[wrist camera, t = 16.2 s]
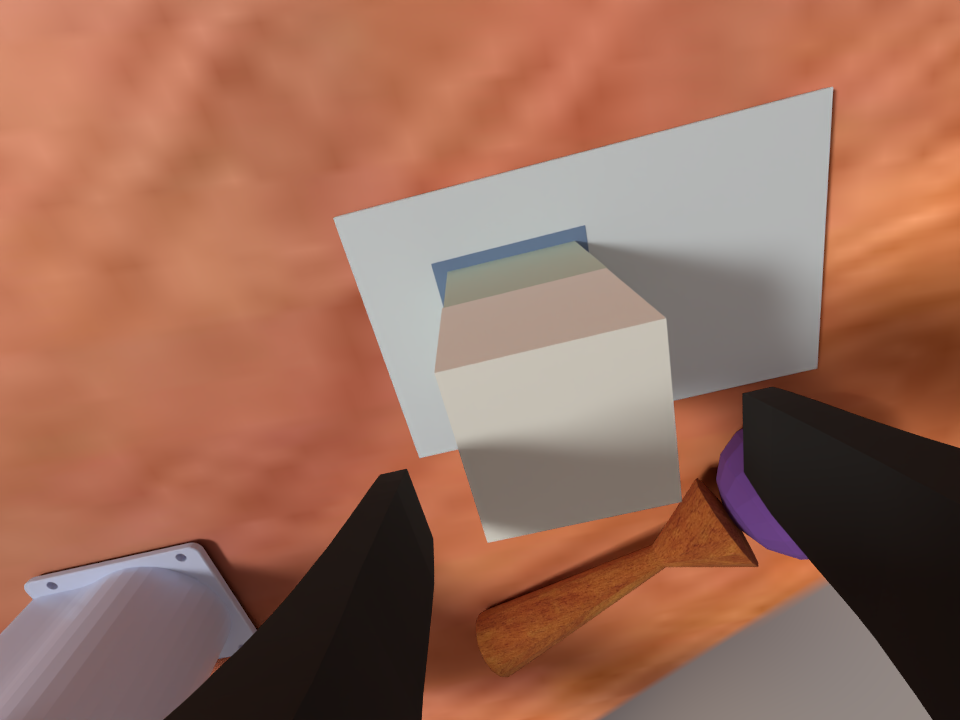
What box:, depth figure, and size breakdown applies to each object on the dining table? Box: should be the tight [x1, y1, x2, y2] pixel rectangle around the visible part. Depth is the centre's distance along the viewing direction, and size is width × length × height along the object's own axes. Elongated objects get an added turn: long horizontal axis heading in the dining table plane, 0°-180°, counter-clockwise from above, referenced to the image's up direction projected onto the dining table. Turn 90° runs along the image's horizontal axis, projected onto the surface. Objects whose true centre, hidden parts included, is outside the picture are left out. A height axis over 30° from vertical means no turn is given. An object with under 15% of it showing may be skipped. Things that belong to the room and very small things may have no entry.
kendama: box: [476, 428, 808, 677], centre depth 23 cm, size 6×6×20 cm
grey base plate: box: [333, 87, 833, 458], centre depth 19 cm, size 18×11×1 cm, turn 104°
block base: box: [443, 241, 608, 308], centre depth 17 cm, size 5×5×4 cm
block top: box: [434, 268, 682, 543], centre depth 13 cm, size 5×5×4 cm
